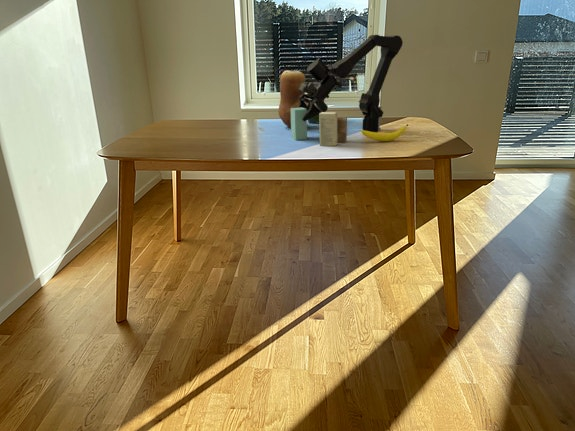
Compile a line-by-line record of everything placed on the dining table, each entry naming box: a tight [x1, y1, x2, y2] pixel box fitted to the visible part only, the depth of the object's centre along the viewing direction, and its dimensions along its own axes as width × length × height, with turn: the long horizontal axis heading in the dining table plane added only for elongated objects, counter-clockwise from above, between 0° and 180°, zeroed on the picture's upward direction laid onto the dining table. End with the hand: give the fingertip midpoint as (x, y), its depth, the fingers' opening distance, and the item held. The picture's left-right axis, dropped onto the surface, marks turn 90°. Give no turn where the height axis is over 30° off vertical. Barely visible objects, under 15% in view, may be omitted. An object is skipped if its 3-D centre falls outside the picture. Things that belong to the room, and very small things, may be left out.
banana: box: [359, 124, 409, 142], centre depth 163 cm, size 3×19×6 cm, turn 96°
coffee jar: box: [307, 81, 325, 124], centre depth 201 cm, size 10×8×19 cm
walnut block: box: [337, 117, 348, 144], centre depth 164 cm, size 4×4×9 cm
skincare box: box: [318, 111, 338, 147], centre depth 160 cm, size 6×4×12 cm
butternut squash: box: [278, 69, 308, 129], centre depth 190 cm, size 14×13×25 cm
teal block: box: [290, 107, 308, 141], centre depth 171 cm, size 5×5×12 cm
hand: (299, 118), depth 171 cm, fingers open, 9 cm apart
